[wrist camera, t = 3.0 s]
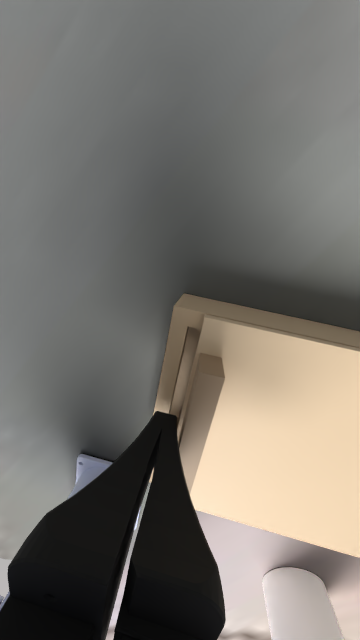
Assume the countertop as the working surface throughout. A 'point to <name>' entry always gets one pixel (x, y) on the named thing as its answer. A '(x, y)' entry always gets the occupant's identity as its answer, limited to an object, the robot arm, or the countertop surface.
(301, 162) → the countertop surface
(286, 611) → the cylindrical container
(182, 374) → the mailer box
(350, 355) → the lid
